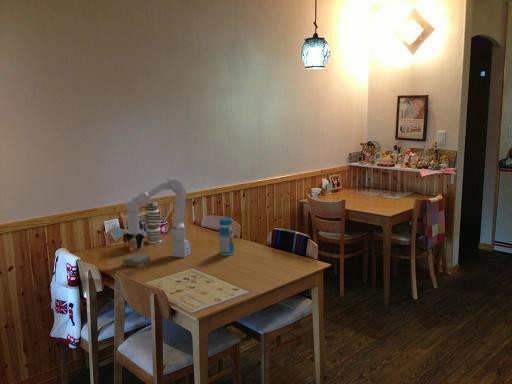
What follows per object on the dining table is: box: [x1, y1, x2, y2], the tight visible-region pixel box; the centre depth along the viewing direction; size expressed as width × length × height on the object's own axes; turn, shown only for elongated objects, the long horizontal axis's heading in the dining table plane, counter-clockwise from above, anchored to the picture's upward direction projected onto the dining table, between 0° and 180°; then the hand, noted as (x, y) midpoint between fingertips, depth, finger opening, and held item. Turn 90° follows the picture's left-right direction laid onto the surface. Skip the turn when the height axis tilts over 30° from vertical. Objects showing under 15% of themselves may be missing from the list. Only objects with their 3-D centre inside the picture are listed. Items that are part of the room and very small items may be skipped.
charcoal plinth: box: [122, 253, 151, 267], centre depth 251 cm, size 10×10×3 cm
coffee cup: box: [133, 222, 145, 249], centre depth 274 cm, size 9×9×15 cm
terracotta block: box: [128, 238, 143, 253], centre depth 249 cm, size 4×4×6 cm
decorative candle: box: [144, 201, 163, 244], centre depth 287 cm, size 9×9×25 cm
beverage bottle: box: [218, 217, 235, 256], centre depth 260 cm, size 8×8×20 cm
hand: (135, 247), depth 249 cm, fingers closed on terracotta block, 4 cm apart
